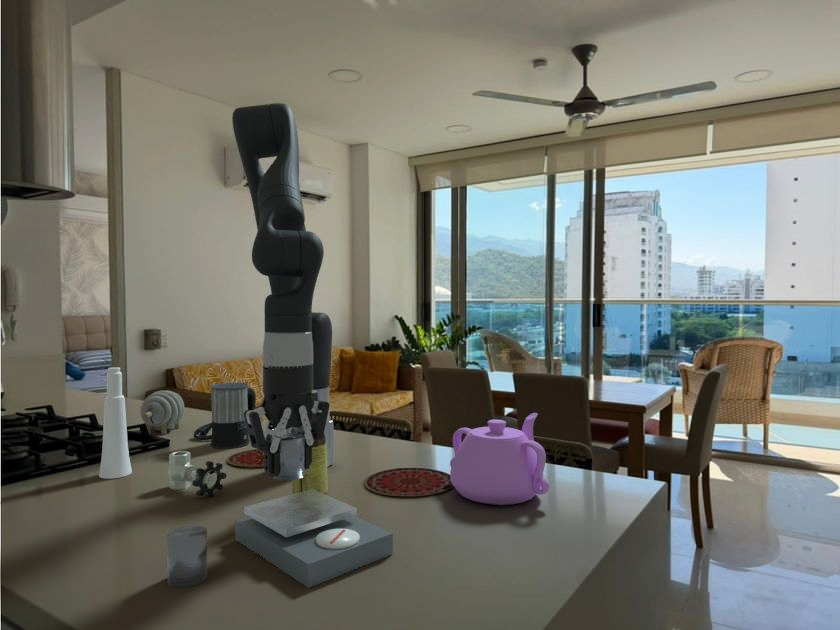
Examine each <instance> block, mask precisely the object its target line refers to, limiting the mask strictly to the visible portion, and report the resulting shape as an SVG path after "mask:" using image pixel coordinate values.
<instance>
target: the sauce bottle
mask: <svg viewBox="0 0 840 630" xmlns="http://www.w3.org/2000/svg"><path fill="white" fill-rule="evenodd" d="M312 397H313V399H314V401H317V400H318V392H317V391H315V390H312ZM312 414H313V413H312V410H311V411H310V413H309V415H308V419H309V422H310V424H311V419H312ZM291 433H296V431H295V430H294V429H293V427H292V429H291ZM328 479H329V478H328V467H327V452H326V437H325V434H324V435H323V438H322V439H321V440H319V439H318V440H316V441H315V442H314V443H313V444H312V463H311V465H309V469H307V470H305V476H304V477H302V478H300V479H297V480H291V486H292V488H291V490H292V493H291V494H295V493H299V492H303V491H306V490H310V489H313V490H316V491H318V492H320V493H323V494H325V495H327V496H328V491H329V483H328V482H329V481H328Z"/></svg>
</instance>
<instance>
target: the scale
mask: <svg viewBox="0 0 840 630" xmlns="http://www.w3.org/2000/svg"><path fill="white" fill-rule="evenodd" d="M393 536H394V534H393V533H392V532H390V531H388V530H386V529H384V528H382V527H379V526H378V525H374V524H373V523H372V522H371V523H370V522H368V521H366V520H364V519H361V518H359V517H357V516H356V515H355V516H352V517H349V518H346V519H342V520H339V521H336V522H333V523H330V524H327V525H324V526H321V527H318V528H314V529H311V530H308V531H305V532H302V533H299V534H296V535H293V536H290V537H284V536H283V535H281V534H279V533H277V532H276V531H274V530H272V529H270V528H269V527H267V526H265V525H263V524H262V523H260V522H258V521H256V520H255V519H253V518H251V517H249V516H248V515H247V516H245V517H241V518H238V519H234V540H235V541H236V542H238V543H239V542H240V543H239V544H241V545H242V544H243V545H242V546H244V547H245V546H246V547H245V548H247V549H249V550H250V549H251V550H250V551H252V552H253V551H254V552H253V553H255V554H256V553H257V554H256V555H258V554H259V555H260V557H261V556H262V557H263V558H262V557H261V558H262V559H264V558H265V559H266V561H267V562H268V561H269V563H270V564H271V563H272V565H273V566H274V565H275V566H274V567H276V568H277V567H278V568H277V569H279V570H281V571H282V572H283V573H285V574H286V575H289V576H290V577H292V578H293V579H294V580H296V581H297V582H299V583H300V584H302V585H304V586H305V587H306V588H308V589H310V588H312V587H314V586H317V585H319V584H322V583H324V582H327V581H330V580H332V579H335V578H337V577H339V576H343V575H344V573H345V574H348V573H350V572H352V571H354V569H355V570H356V569H359V567H360V568H362V567H364V565H365V566H367V565H369V564H372V563H374V562H376V561H379V560H381V559H385V558H387V557H389V556H392V555H393V554H394V553H393V552H394V551H393V549H394V548H393V547H394V544H393V543H394V537H393ZM259 555H258V556H259ZM265 559H264V560H265ZM351 570H352V571H351ZM349 571H350V572H349Z"/></svg>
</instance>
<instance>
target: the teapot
mask: <svg viewBox="0 0 840 630" xmlns="http://www.w3.org/2000/svg"><path fill="white" fill-rule="evenodd" d="M537 417H538V413H537V412H533V413H530V414H529V415H528V416H526V418H525V419H524V422H523V425H522V428H521V430H520V429H518V428H517V429H516V428H512V427H508V426H507V427H506V425H507V421H505V420H503V419H490V420H488V421H487V426H481V427H476V428H469V427H460V428H458V429H457V430H456V431H455V432H454V433H453V436H452V447H453V453H454V457H452V458H451V460H450V462H449V465H450V476H449V477H450V483H451V484H452V486H453V487H454V488H455V490H456V491H457V492H458V493H459V494H460V495H461V496H462V497H464V498H465V499H468V500H470V501H472V502H477V503H481V504H487V505H497V506H506V505H515V504H522V503H525V502H527V501H529V500H532V499H533V498H534V497H535V496H536V495H546V494H547V493H548V492H549V490H550V484H549V482H548V481H547V480H546V478H544V471H545V467H546V462H547V461H546V460H547V455H546V454H547V453H546V451H545V448H544V447H543V446H542V445H541V444H540V443H539V442H537V441H535V440H534V438H535V437H534V424H535V420H536V418H537ZM463 434H464V435H466V436H465V437H464V438H463V441H462V435H463Z"/></svg>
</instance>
